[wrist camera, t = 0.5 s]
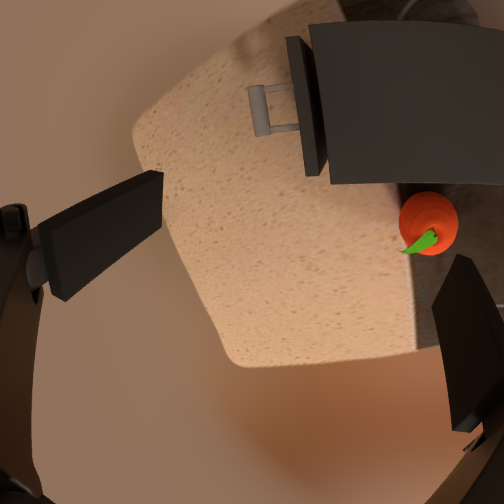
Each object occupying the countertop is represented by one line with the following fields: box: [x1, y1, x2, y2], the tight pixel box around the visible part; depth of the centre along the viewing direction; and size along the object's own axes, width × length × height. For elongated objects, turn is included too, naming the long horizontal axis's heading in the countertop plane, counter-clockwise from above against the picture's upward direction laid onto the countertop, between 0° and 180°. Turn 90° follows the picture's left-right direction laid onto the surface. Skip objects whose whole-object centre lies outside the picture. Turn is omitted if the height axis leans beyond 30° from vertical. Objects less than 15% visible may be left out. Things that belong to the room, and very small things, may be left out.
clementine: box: [399, 191, 458, 255], centre depth 31 cm, size 8×7×7 cm
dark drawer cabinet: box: [308, 20, 504, 185], centre depth 25 cm, size 18×14×11 cm
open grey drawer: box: [247, 36, 328, 176], centre depth 27 cm, size 22×12×9 cm, turn 100°
